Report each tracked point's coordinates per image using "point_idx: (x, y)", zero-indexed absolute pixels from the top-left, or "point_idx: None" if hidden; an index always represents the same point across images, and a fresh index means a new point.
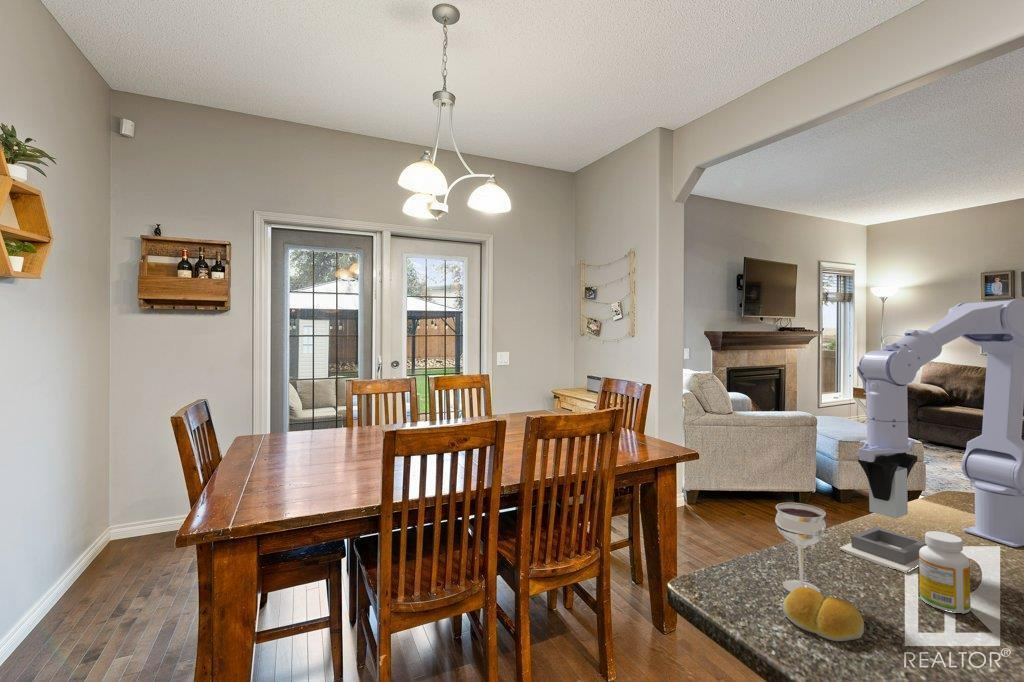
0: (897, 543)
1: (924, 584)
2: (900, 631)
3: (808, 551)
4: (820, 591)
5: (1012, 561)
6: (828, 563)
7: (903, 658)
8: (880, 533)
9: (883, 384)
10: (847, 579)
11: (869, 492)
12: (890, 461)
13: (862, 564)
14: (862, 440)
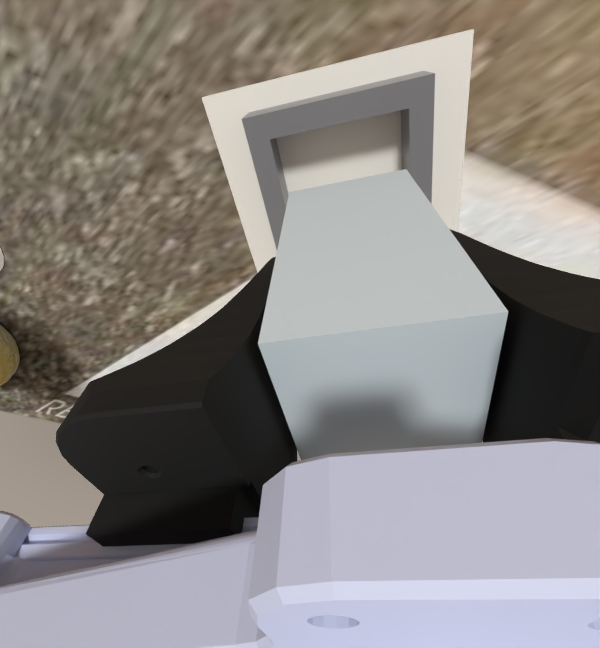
0: None
1: None
2: (81, 378)
3: (84, 56)
4: (2, 267)
5: None
6: (103, 164)
7: (44, 405)
8: (406, 115)
9: None
10: (100, 248)
11: (283, 232)
12: (519, 402)
13: (199, 203)
14: (454, 606)
